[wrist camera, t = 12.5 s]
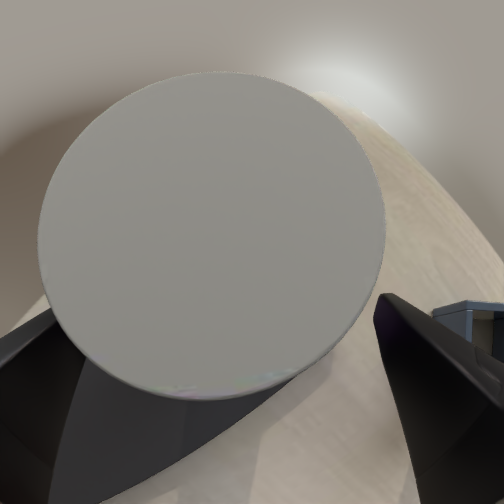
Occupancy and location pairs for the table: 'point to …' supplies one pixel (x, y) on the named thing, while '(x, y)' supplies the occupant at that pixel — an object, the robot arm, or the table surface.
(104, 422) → the mat
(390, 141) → the table surface
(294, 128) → the container
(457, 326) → the holder
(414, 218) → the table surface
